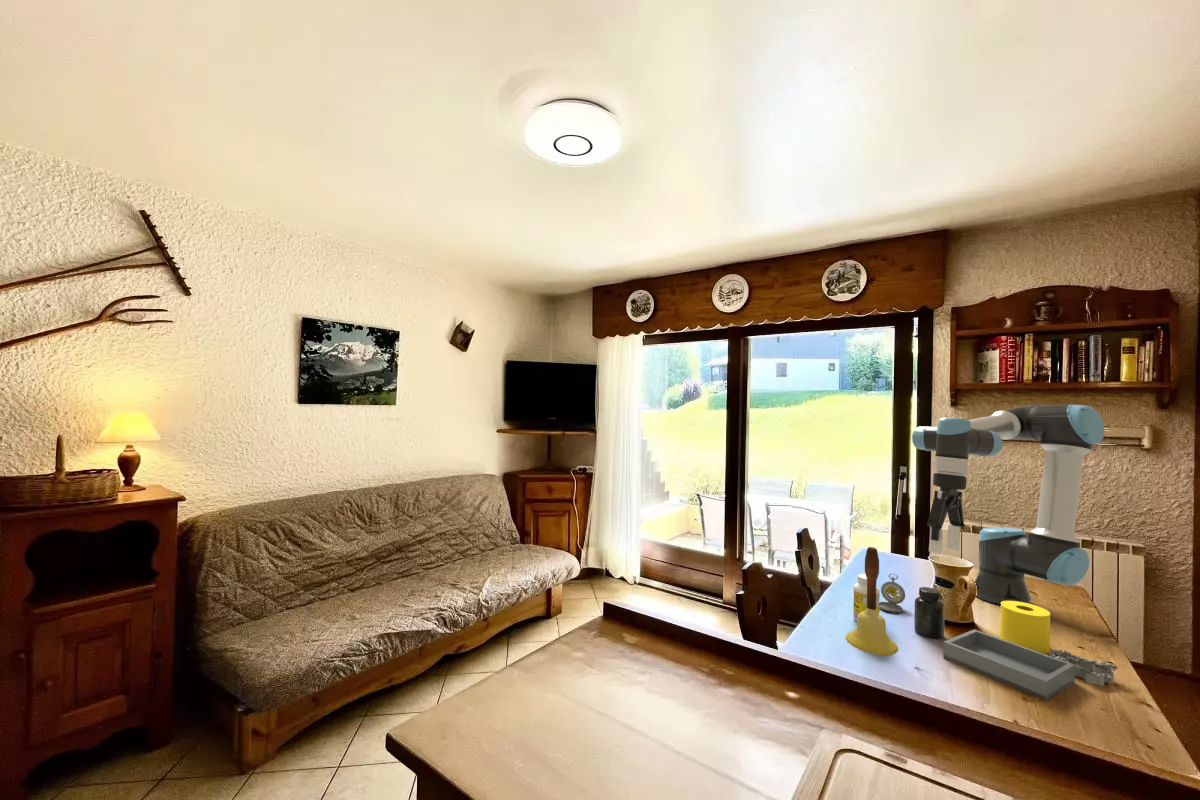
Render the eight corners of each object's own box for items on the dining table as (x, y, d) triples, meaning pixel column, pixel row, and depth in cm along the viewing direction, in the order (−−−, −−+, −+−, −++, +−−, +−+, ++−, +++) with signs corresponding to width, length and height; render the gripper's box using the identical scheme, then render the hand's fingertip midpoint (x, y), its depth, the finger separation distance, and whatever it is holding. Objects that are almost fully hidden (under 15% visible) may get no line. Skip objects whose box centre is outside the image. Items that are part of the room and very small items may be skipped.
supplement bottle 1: (851, 614, 148) (852, 571, 148) (876, 618, 145) (877, 574, 145) (855, 623, 141) (855, 578, 141) (881, 627, 139) (881, 582, 139)
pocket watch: (882, 612, 149) (882, 579, 150) (872, 602, 158) (872, 570, 158) (911, 615, 148) (912, 581, 148) (900, 604, 156) (900, 572, 156)
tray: (973, 644, 130) (974, 629, 130) (1074, 682, 112) (1074, 664, 112) (943, 657, 123) (943, 641, 123) (1046, 700, 105) (1046, 681, 105)
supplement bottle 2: (928, 627, 140) (928, 584, 140) (950, 638, 133) (950, 593, 133) (908, 629, 138) (908, 586, 138) (930, 640, 132) (930, 595, 132)
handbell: (842, 629, 137) (843, 539, 138) (892, 637, 133) (893, 544, 134) (848, 649, 126) (849, 551, 126) (903, 659, 122) (904, 557, 122)
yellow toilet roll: (1016, 633, 137) (1017, 599, 137) (1059, 650, 128) (1059, 613, 128) (991, 637, 134) (991, 602, 134) (1032, 655, 125) (1033, 618, 125)
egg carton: (1120, 685, 112) (1121, 667, 112) (1094, 688, 111) (1094, 670, 111) (1068, 661, 123) (1068, 644, 123) (1043, 663, 121) (1043, 646, 121)
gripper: (950, 472, 147) (944, 544, 146) (917, 470, 132) (910, 550, 131) (980, 476, 141) (975, 551, 140) (950, 474, 126) (943, 558, 125)
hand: (944, 550), depth 136 cm, fingers open, 13 cm apart
